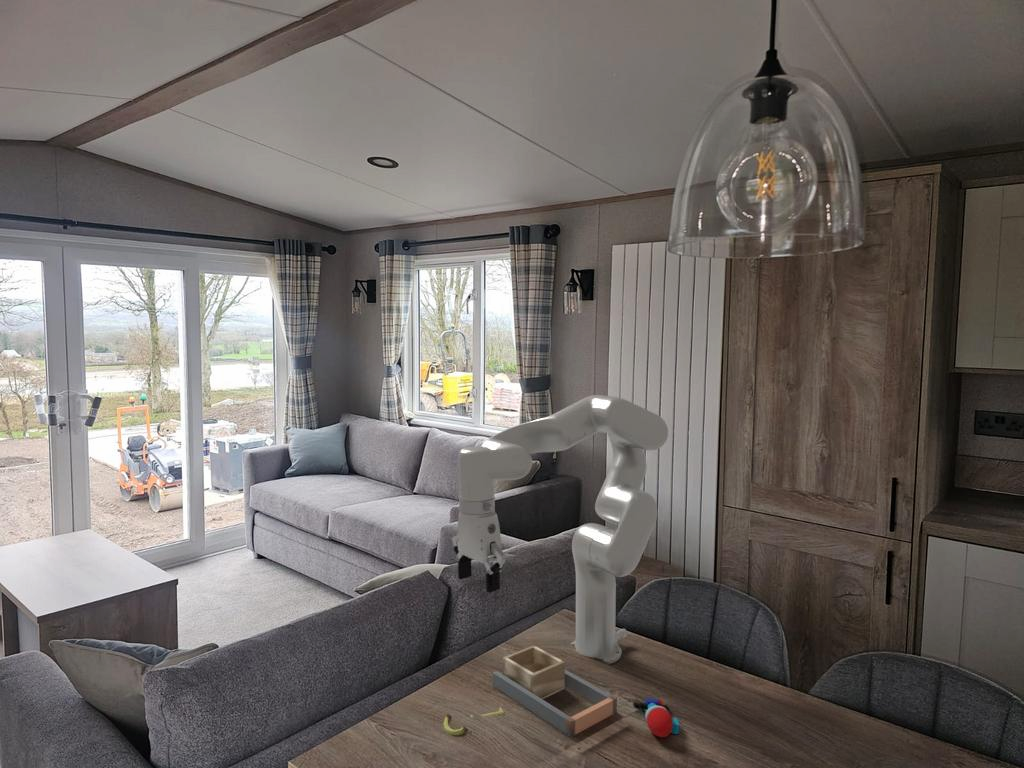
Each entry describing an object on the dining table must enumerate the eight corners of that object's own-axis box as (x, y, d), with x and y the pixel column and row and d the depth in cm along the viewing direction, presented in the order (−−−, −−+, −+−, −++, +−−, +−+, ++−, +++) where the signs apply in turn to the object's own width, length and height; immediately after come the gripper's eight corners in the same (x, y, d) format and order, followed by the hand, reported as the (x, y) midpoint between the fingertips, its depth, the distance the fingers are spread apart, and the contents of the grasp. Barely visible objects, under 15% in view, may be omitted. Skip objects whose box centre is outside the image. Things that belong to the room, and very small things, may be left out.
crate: (502, 684, 147) (502, 657, 146) (533, 670, 152) (533, 645, 152) (533, 703, 139) (533, 675, 138) (564, 688, 145) (564, 662, 144)
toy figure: (629, 711, 142) (645, 742, 127) (630, 686, 142) (646, 715, 127) (664, 713, 142) (685, 745, 127) (666, 689, 142) (686, 718, 127)
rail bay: (492, 691, 146) (492, 672, 146) (537, 671, 154) (537, 653, 154) (570, 743, 128) (570, 722, 127) (616, 718, 136) (616, 698, 136)
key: (507, 721, 136) (507, 711, 136) (451, 740, 130) (451, 729, 130) (491, 704, 142) (490, 694, 142) (436, 721, 136) (436, 711, 136)
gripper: (517, 510, 138) (518, 591, 140) (466, 494, 151) (468, 568, 153) (488, 517, 133) (490, 601, 135) (438, 501, 146) (441, 577, 148)
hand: (478, 584), depth 144 cm, fingers open, 9 cm apart
